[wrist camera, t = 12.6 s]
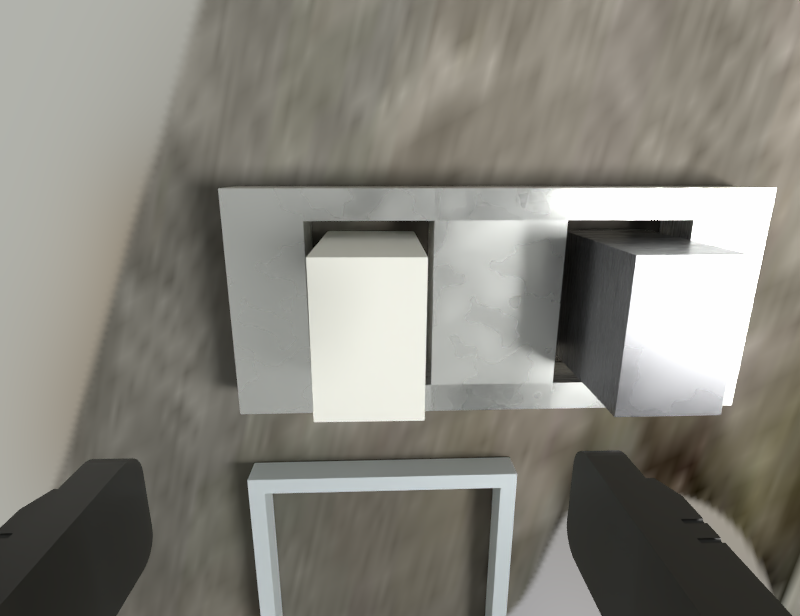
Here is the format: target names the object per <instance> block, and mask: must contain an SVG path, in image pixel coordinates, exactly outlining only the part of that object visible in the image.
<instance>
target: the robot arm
mask: <svg viewBox="0 0 800 616" xmlns="http://www.w3.org/2000/svg"><path fill="white" fill-rule="evenodd" d="M567 533H568V540H569V545H570V549H571V553H572V556H573V558H574V560H575V562H576V564H577V566H578V568H579V571H580V573H581V574H582V577H583V579H584V581H585V583H586V584H587V587H588V589H589V591H590V593H591V595H592V597H593V599H594V601H595V603H596V605H597V607H598V609H599V611H600V613H601V615H602V616H792V615H791V614H790V613H789V612H788V611H787V610H786V608H785V607H784V606H783V605H782V604H781V603H780V602H779V601H778V600H777V599H776V598H775V596H774V595H773V594H772V593H771V592H770V591H769V590H768V589H767V588H766V587H765V586H764V584H763V583H762V582H761V581H760V580H759V579H758V578H757V577H756V576H755V575H754V574H753V573H752V571H751V570H750V569H749V568H748V567H747V566H746V565H745V564H744V563H743V562H742V561H741V559H739V557H738V556H737V555H736V554H735V553H734V552H733V551H732V550H731V549H730V547H729V546H728V545H727V544H726V543H722V542H721V539H720V537H719V536H718V534H716V532H715V531H714V530H713V529H712V528H711V527H710V526H709V525H708V524H707V523H704V522H703V518H702V517H701V516H700V515H699V514H698V513H697V512H696V510H695V509H694V508H693V507H692V506H691V505H690V504H689V503H688V502H687V501H686V500H685V499H684V497H683V496H681V495H680V494H678V493H677V492H675V491H673V490H672V489H670V488H669V487H667V486H666V485H664V484H663V483H661V482H659V481H658V480H656V479H655V478H645V477H644V476H643V474H642V473H641V472H640V471H639V470H638V469H637V467H636V466H635V465H634V464H633V463H632V462H631V460H630V459H629V458H628V457H627V456H626V455H625V454H624V453H623V452H622V451H579V452H578V453H577V454H576V456H575V459H574V464H573V473H572V482H571V491H570V500H569V509H568V518H567ZM152 537H153V533H152V524H151V518H150V512H149V506H148V500H147V494H146V488H145V482H144V476H143V470H142V466H141V464H140V462H139V461H138V460H137V459H92V460H89V461H87V462H85V463H84V464H83V465H82V466H81V467H80V468H79V469H78V470H77V471H76V472H75V473H74V474H73V475H72V476H71V477H70V478H69V479H68V480H67V481H66V482H65V483H64V484H63V485H62V486H61V487H60V488H59V489H53V490H51V491H50V492H48V493H46V494H45V495H43V496H41V497H40V498H38V499H36V500H35V501H33V502H31V503H30V504H28V505H26V506H25V507H23V508H21V509H20V510H19V511H18V512H17V513H15V514H14V516H12V517H11V518H10V519H9V520H8V521H7V522H6V523H5V524H4V525H3V526H2V527H1V528H0V616H116V615H117V614H118V612H119V610H120V609H121V607H122V605H123V604H124V602H125V600H126V599H127V597H128V595H129V594H130V592H131V590H132V589H133V587H134V585H135V584H136V582H137V580H138V578H139V577H140V575H141V573H142V572H143V570H144V568H145V566H146V564H147V562H148V559H149V555H150V552H151V547H152Z"/></svg>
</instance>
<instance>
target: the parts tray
mask: <svg viewBox="0 0 800 616" xmlns="http://www.w3.org/2000/svg"><path fill="white" fill-rule="evenodd" d="M247 482H248V493H249V503H250V513H251V523H252V533H253V543H254V553H255V563H256V573H257V583H258V593H259V604H260V614H261V616H283V613H282V601H281V589H280V577H279V565H278V553H277V541H276V529H275V517H274V505H273V493H312V492H353V491H393V490H434V489H475V488H493V496H492V512H491V528H490V544H489V560H488V576H487V592H486V608H485V616H506V611H507V598H508V585H509V572H510V559H511V547H512V534H513V521H514V508H515V495H516V482H517V473H516V470H515V468H514V466H513V464H512V461H511V459H510V457H497V458H452V459H407V460H362V461H317V462H272V463H254V466H253V468H252V470H251V473H250V475H249V477H248V480H247Z"/></svg>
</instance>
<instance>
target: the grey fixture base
mask: <svg viewBox="0 0 800 616" xmlns="http://www.w3.org/2000/svg"><path fill="white" fill-rule="evenodd" d="M776 189H777V188H766V187H747V186H232V187H225V188H218V194H219V204H220V214H221V224H222V234H223V244H224V254H225V264H226V274H227V284H228V295H229V305H230V315H231V325H232V335H233V345H234V355H235V365H236V375H237V385H238V395H239V405H240V414H275V413H313V394H312V373H311V352H310V331H309V310H308V289H307V267H306V257H307V256H308V254H309V253H310V252H311V251H312V250H313V242H312V221H429V228H428V286H427V345H426V372H425V411H439V410H493V409H548V408H603V407H606V408H607V409H608V410H609V411H610V413H611V414H612V415H613V416H614V417H639V416H691V415H721V410H722V405H732V400H733V395H734V390H735V386H736V381H737V376H738V371H739V366H740V362H741V357H742V352H743V347H744V342H745V338H746V333H747V328H748V323H749V318H750V314H751V309H752V304H753V299H754V294H755V290H756V285H757V280H758V275H759V270H760V266H761V261H762V256H763V251H764V247H765V242H766V237H767V232H768V227H769V223H770V218H771V213H772V208H773V203H774V199H775V194H776ZM568 220H661V221H660V228H659V232H654V231H650V230H646V229H593V230H567V227H568ZM555 354H556V355H557V356H558V357H559V358H560V359H561V360H562V362H555Z"/></svg>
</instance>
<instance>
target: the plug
mask: <svg viewBox="0 0 800 616" xmlns="http://www.w3.org/2000/svg"><path fill="white" fill-rule="evenodd" d="M306 267H307V289H308V310H309V331H310V352H311V373H312V394H313V415H314V422H358V421H424V417H425V372H426V326H427V281H428V256H427V255H426V253H425V251H424V249H423V247H422V245H421V243H420V242H419V240H418V238H417V236H416V234H415V232H414V231H327V233H326V234H325V235H324V236H323V237H322V239H321V240H320V241H319V242H318V244H317V245H316V246H315V247H314V248H313V250H312V251H311V252H310V253H309V254H308V256H307V257H306Z"/></svg>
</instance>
